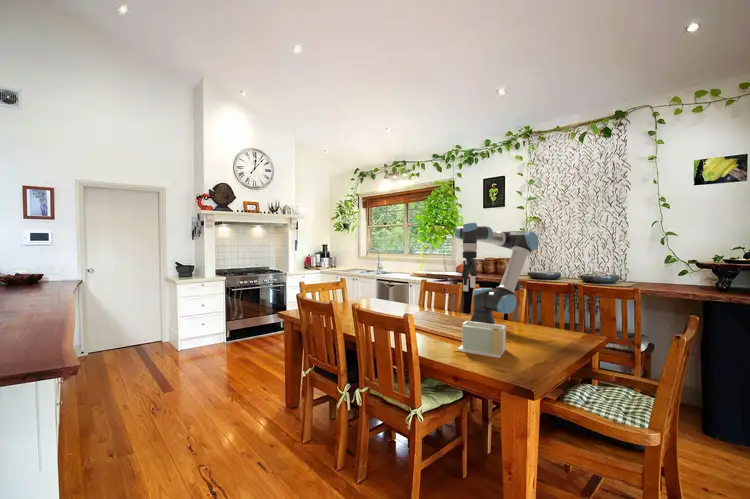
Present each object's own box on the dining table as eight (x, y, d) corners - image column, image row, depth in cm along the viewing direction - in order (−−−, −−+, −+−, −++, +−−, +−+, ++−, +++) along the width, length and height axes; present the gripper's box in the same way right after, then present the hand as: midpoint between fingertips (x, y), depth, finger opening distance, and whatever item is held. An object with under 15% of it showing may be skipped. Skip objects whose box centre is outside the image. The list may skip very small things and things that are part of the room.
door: (465, 346, 185) (465, 324, 184) (502, 351, 175) (502, 329, 175) (462, 348, 180) (462, 326, 180) (499, 355, 171) (500, 331, 171)
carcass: (466, 343, 193) (466, 320, 192) (505, 349, 183) (506, 325, 182) (457, 350, 181) (457, 326, 180) (499, 357, 171) (500, 332, 170)
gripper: (469, 249, 214) (469, 285, 215) (455, 252, 193) (455, 292, 194) (482, 249, 210) (481, 286, 212) (470, 252, 189) (469, 293, 190)
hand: (469, 289), depth 203 cm, fingers open, 13 cm apart
